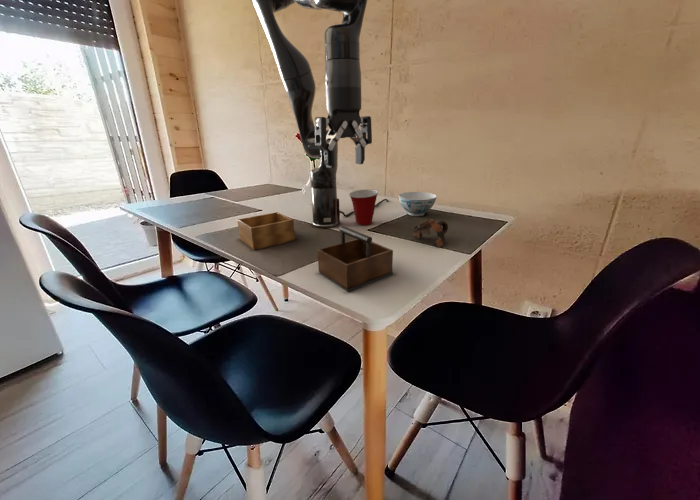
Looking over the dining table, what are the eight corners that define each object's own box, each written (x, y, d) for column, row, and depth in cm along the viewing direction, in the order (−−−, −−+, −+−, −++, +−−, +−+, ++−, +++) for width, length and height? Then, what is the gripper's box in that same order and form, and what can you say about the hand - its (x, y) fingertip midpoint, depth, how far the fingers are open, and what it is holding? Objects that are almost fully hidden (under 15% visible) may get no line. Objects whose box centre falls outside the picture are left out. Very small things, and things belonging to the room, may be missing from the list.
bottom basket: (279, 231, 111) (277, 212, 108) (295, 240, 102) (293, 219, 99) (240, 239, 103) (237, 219, 100) (253, 250, 94) (250, 228, 91)
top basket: (361, 257, 86) (361, 220, 82) (392, 272, 77) (393, 231, 73) (318, 271, 79) (316, 230, 74) (347, 289, 70) (346, 244, 66)
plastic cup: (344, 221, 121) (344, 190, 116) (369, 217, 125) (370, 187, 120) (356, 229, 111) (356, 196, 107) (383, 225, 115) (383, 193, 111)
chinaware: (397, 218, 123) (398, 199, 120) (398, 208, 137) (399, 191, 134) (436, 219, 121) (438, 200, 118) (433, 209, 135) (434, 192, 132)
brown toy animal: (434, 252, 92) (422, 227, 91) (415, 255, 100) (403, 232, 100) (460, 234, 97) (449, 210, 96) (440, 238, 105) (429, 217, 105)
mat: (362, 259, 86) (362, 257, 86) (392, 274, 78) (392, 272, 77) (319, 273, 79) (319, 271, 78) (347, 292, 70) (347, 289, 70)
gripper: (325, 83, 58) (329, 171, 65) (380, 86, 67) (379, 164, 73) (304, 86, 64) (310, 167, 70) (357, 89, 72) (358, 161, 78)
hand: (345, 165), depth 72 cm, fingers open, 8 cm apart
